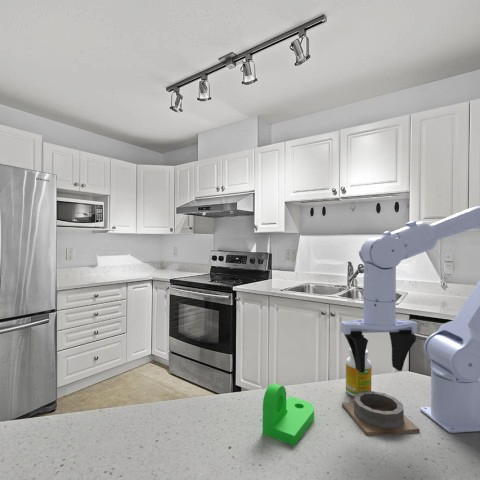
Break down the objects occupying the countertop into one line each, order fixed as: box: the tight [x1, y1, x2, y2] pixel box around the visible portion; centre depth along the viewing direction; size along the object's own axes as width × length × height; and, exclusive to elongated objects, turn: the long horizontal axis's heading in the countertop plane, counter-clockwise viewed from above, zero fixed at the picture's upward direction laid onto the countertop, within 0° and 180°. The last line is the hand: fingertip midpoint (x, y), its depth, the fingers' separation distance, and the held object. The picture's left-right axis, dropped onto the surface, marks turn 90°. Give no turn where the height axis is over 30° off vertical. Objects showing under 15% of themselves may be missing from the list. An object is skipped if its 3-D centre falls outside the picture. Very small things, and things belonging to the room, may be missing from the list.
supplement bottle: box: [345, 347, 373, 398], centre depth 71 cm, size 5×5×10 cm
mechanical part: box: [262, 382, 315, 446], centre depth 59 cm, size 12×6×8 cm, turn 147°
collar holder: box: [341, 390, 421, 436], centre depth 61 cm, size 10×10×3 cm
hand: (378, 369), depth 61 cm, fingers open, 7 cm apart
